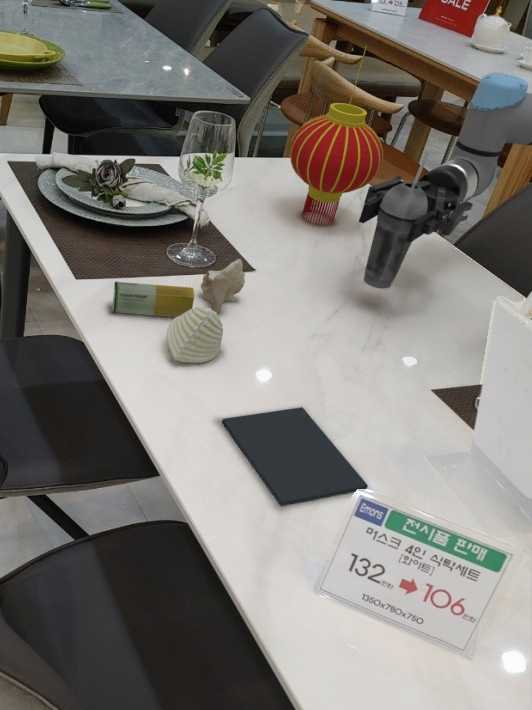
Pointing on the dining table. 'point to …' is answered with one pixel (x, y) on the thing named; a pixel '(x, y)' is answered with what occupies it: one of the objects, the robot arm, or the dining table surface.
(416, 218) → the beverage cup
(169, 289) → the medication box
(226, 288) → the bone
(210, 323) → the seashell
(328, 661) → the dining table surface
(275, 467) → the mat
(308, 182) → the lantern
